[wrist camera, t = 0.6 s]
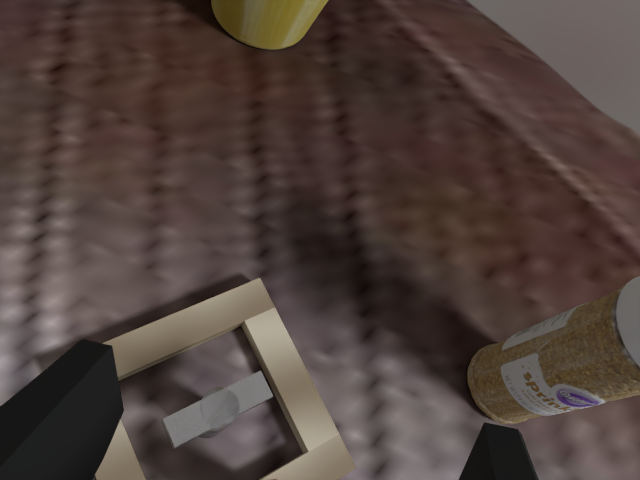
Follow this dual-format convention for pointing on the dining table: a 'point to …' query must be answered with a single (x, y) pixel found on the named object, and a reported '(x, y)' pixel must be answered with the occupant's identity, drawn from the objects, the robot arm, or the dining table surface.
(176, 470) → the dining table surface
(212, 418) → the T-head stake
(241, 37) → the plant pot
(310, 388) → the birch frame
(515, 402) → the sprinkles bottle
